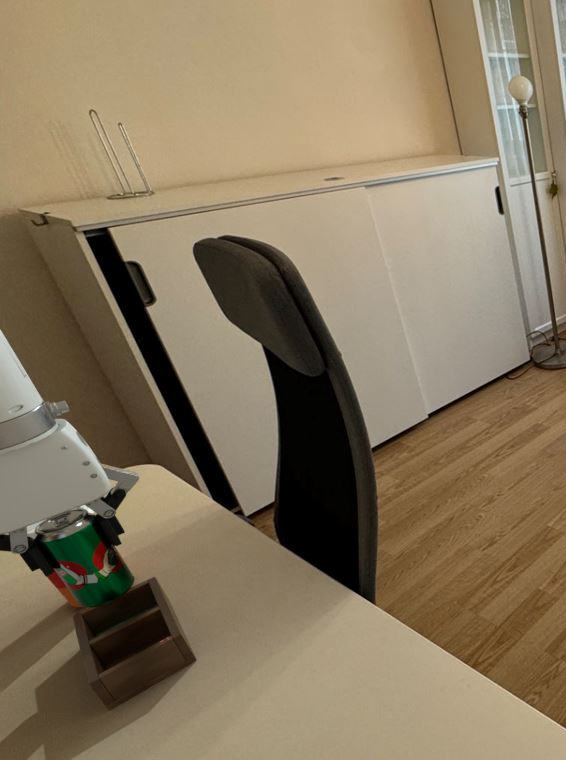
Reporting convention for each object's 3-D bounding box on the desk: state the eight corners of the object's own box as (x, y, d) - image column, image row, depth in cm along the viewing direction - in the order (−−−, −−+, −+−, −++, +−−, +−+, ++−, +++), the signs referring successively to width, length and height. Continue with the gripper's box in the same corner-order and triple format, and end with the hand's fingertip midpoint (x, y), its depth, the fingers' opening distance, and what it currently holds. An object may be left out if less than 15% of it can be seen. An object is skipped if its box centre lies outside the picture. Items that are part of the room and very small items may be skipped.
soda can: (131, 572, 74) (87, 500, 69) (141, 589, 71) (95, 516, 66) (77, 598, 70) (26, 524, 65) (84, 617, 67) (32, 542, 62)
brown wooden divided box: (108, 711, 65) (88, 684, 63) (89, 641, 73) (71, 615, 71) (197, 660, 70) (181, 634, 68) (169, 601, 79) (154, 576, 77)
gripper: (105, 389, 69) (168, 505, 76) (-131, 455, 56) (-28, 585, 64) (116, 406, 64) (182, 527, 72) (-136, 482, 52) (-25, 618, 60)
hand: (82, 553), depth 68 cm, fingers closed on soda can, 5 cm apart
